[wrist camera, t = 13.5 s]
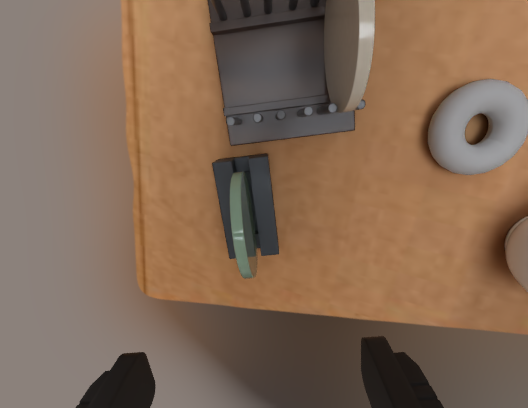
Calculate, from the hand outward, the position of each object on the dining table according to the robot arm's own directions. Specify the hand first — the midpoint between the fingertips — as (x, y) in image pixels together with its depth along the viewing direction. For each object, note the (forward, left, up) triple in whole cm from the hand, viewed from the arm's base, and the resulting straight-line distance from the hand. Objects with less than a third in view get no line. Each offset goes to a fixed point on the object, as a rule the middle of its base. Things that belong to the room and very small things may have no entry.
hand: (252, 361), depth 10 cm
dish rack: (-14, +4, -24) cm, 28 cm away
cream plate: (-14, +8, -23) cm, 28 cm away
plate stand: (+1, -2, -24) cm, 24 cm away
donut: (-5, +24, -24) cm, 34 cm away
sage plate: (+1, -2, -23) cm, 23 cm away
